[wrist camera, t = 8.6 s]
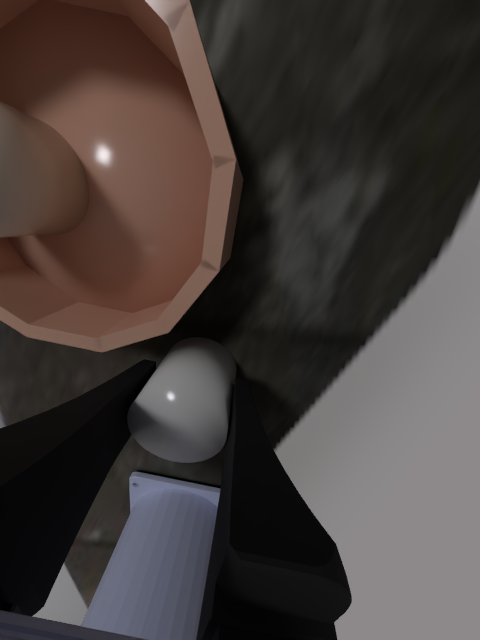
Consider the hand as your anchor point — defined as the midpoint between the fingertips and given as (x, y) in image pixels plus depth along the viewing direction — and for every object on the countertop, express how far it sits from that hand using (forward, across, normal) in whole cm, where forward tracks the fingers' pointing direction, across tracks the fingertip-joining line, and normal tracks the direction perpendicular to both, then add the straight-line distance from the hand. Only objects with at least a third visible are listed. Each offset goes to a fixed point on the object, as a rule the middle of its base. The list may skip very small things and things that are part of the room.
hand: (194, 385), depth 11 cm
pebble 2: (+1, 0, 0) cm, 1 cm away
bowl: (+1, +5, -8) cm, 9 cm away
